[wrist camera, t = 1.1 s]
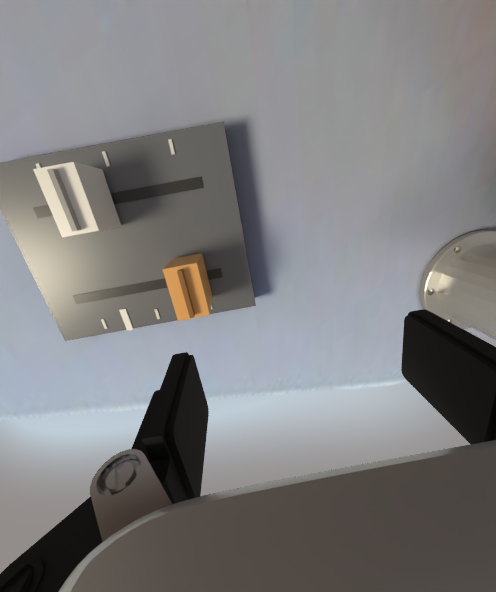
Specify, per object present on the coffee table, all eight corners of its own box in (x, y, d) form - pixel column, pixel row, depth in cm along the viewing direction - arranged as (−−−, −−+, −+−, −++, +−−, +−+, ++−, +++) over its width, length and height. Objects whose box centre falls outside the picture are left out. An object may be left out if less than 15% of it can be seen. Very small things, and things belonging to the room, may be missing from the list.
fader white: (102, 169, 23) (68, 160, 18) (121, 225, 25) (95, 231, 20) (69, 175, 23) (27, 168, 18) (90, 231, 25) (57, 238, 20)
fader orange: (202, 253, 26) (195, 264, 21) (212, 297, 28) (209, 317, 23) (173, 258, 26) (160, 271, 21) (185, 302, 28) (176, 323, 23)
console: (224, 128, 25) (223, 121, 22) (254, 298, 31) (256, 306, 29) (1, 169, 25) (-23, 166, 22) (77, 331, 31) (64, 342, 29)
